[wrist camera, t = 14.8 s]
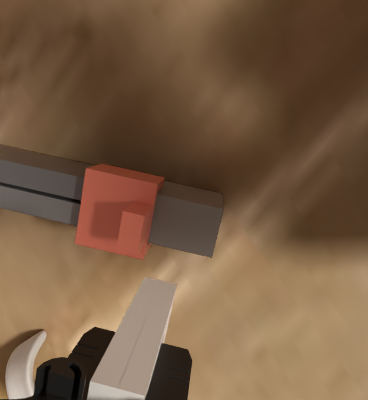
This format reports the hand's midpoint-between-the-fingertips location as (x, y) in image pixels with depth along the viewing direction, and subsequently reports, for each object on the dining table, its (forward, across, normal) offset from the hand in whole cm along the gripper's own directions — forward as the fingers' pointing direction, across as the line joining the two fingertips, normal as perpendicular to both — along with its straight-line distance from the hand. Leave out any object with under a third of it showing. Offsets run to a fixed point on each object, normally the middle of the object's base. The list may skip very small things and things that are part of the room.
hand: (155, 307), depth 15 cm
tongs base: (+21, +13, 0) cm, 25 cm away
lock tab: (+17, +6, 0) cm, 18 cm away
